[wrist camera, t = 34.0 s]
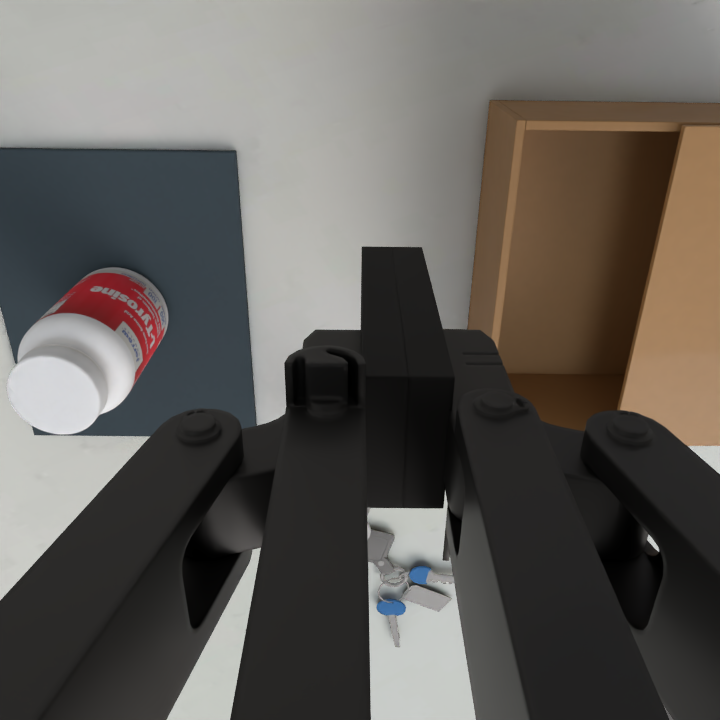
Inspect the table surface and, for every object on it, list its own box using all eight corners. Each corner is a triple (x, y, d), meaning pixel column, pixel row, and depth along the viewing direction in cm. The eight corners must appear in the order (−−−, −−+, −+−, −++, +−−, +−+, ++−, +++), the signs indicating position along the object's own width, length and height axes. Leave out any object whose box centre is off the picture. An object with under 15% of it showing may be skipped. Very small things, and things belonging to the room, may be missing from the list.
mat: (-38, 147, 39) (-42, 148, 38) (236, 150, 39) (234, 152, 39) (37, 431, 48) (34, 435, 48) (257, 433, 48) (256, 437, 48)
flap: (681, 124, 31) (685, 125, 30) (837, 126, 31) (842, 127, 30) (609, 442, 39) (611, 446, 39) (732, 442, 39) (735, 446, 39)
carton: (489, 100, 38) (516, 119, 31) (751, 103, 38) (834, 123, 31) (462, 375, 46) (479, 436, 39) (677, 377, 46) (729, 439, 40)
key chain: (334, 530, 53) (334, 537, 52) (433, 501, 51) (434, 508, 50) (394, 642, 59) (394, 650, 58) (484, 619, 57) (485, 627, 57)
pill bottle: (190, 316, 43) (140, 406, 34) (126, 367, 45) (62, 467, 35) (118, 244, 41) (42, 318, 31) (54, 301, 43) (-36, 388, 33)
